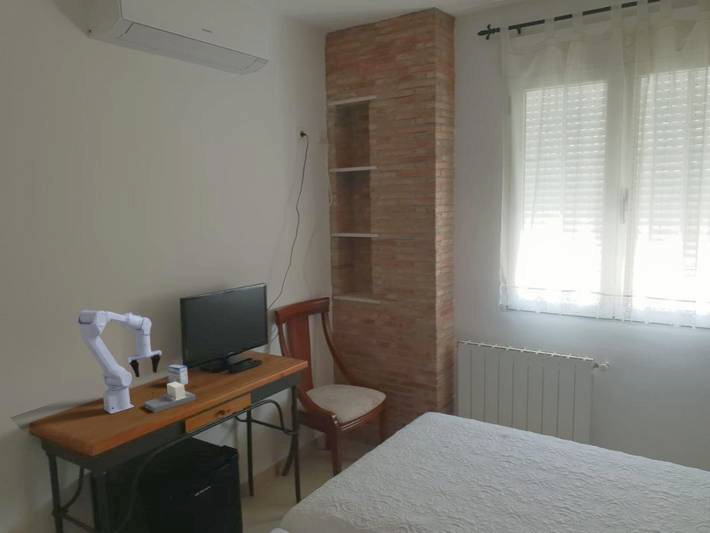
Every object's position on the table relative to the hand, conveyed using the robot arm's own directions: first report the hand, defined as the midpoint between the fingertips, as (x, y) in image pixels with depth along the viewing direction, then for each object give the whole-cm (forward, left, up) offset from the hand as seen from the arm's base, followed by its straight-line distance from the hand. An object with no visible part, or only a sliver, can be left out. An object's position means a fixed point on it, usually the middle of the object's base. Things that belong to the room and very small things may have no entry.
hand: (146, 374), depth 235 cm
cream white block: (+5, -17, -7) cm, 19 cm away
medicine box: (+16, +4, -10) cm, 19 cm away
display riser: (+2, -18, -9) cm, 20 cm away
